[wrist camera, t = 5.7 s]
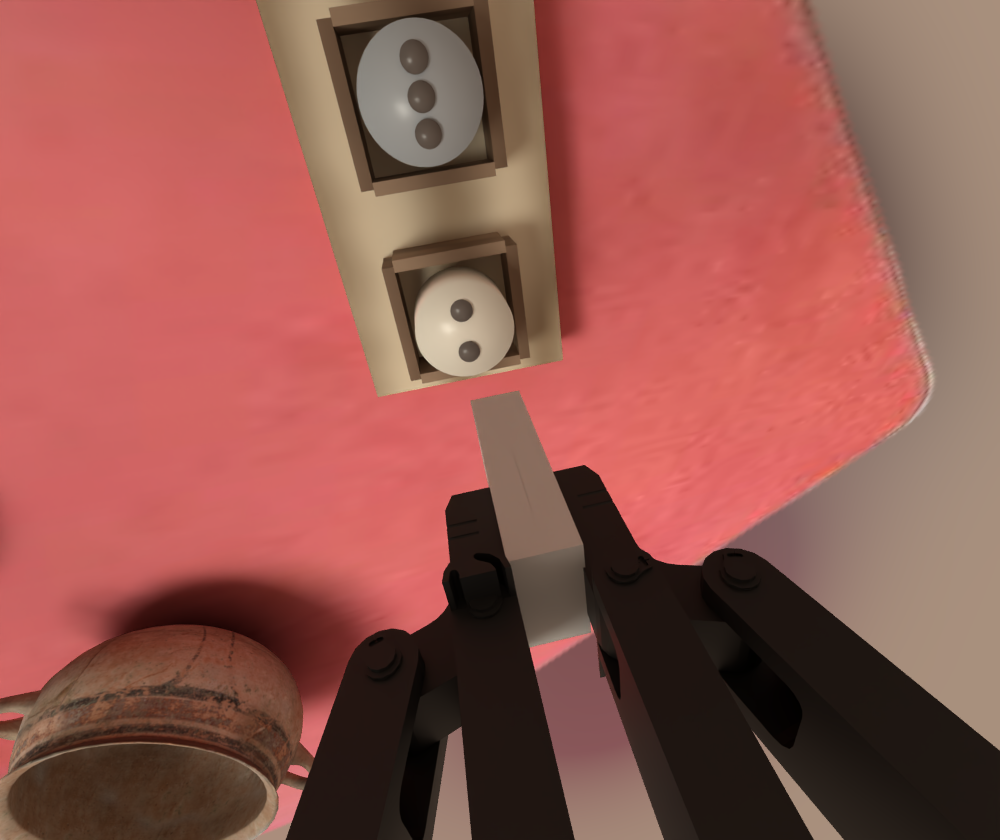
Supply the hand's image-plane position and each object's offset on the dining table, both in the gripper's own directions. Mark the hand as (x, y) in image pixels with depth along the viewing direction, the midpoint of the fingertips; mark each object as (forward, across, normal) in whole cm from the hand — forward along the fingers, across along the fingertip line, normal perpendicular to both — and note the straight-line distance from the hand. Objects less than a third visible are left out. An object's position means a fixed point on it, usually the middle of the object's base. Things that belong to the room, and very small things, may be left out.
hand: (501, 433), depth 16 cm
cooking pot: (+19, -28, -28) cm, 44 cm away
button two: (+14, 0, -1) cm, 14 cm away
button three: (+14, 0, +9) cm, 17 cm away
